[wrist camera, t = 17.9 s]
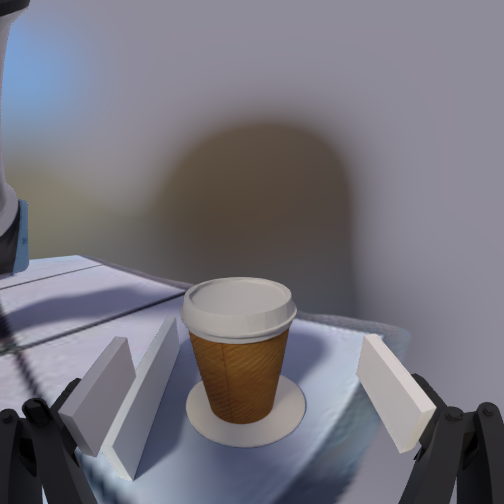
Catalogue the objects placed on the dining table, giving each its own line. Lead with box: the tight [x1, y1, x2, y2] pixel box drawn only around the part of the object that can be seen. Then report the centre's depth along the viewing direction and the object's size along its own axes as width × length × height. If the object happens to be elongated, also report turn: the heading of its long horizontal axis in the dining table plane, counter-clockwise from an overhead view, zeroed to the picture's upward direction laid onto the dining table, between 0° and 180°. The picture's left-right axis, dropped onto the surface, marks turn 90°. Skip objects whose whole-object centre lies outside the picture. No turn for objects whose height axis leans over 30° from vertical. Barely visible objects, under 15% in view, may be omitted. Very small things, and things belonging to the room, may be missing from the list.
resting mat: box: [186, 375, 305, 448], centre depth 25 cm, size 12×12×1 cm
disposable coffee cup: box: [180, 277, 297, 424], centre depth 23 cm, size 10×10×12 cm
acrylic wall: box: [101, 317, 180, 481], centre depth 24 cm, size 22×1×5 cm, turn 2°
